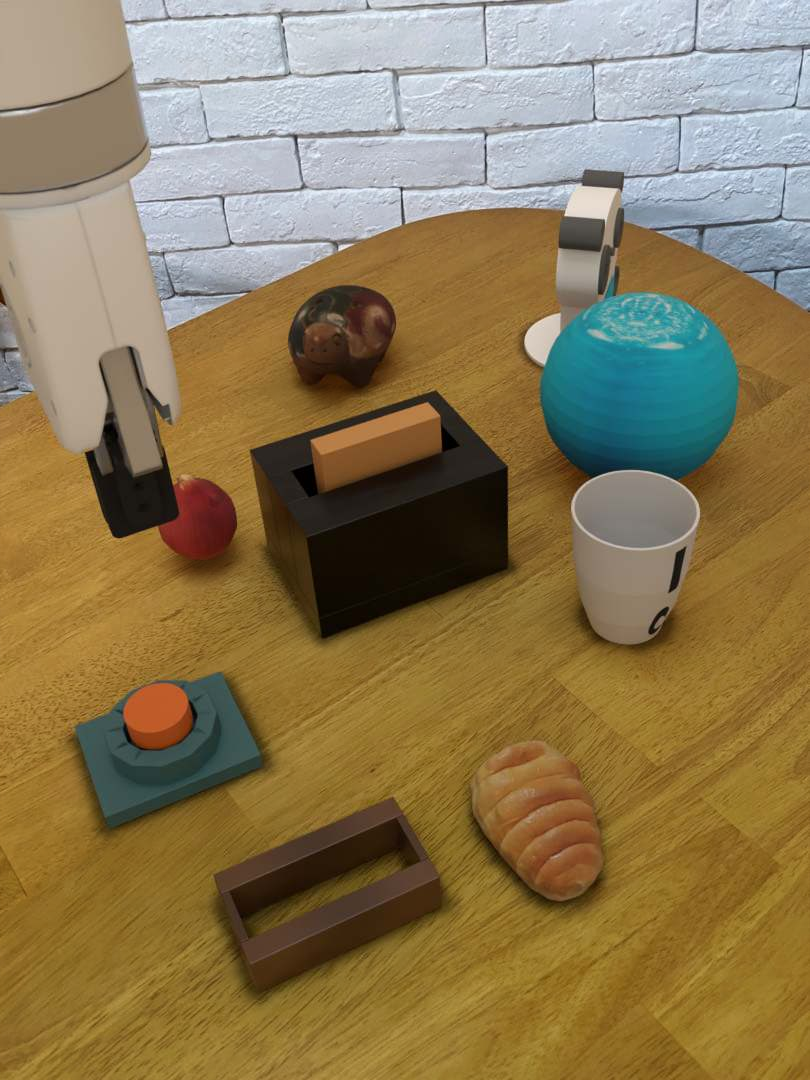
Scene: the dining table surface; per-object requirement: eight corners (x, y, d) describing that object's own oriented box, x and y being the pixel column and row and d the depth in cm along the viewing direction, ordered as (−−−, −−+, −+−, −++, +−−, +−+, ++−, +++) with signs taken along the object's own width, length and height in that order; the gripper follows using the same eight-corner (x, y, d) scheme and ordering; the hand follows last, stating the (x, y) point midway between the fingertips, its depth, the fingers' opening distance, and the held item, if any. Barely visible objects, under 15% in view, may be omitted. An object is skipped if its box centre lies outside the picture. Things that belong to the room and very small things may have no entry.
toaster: (322, 639, 79) (306, 537, 73) (267, 548, 87) (249, 449, 81) (508, 568, 84) (508, 466, 77) (441, 488, 91) (436, 389, 85)
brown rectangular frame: (257, 993, 60) (249, 965, 58) (221, 903, 64) (212, 874, 62) (442, 906, 63) (440, 876, 61) (396, 826, 67) (393, 795, 65)
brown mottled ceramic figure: (279, 415, 101) (263, 333, 96) (315, 336, 112) (302, 260, 108) (386, 413, 99) (375, 330, 94) (411, 334, 111) (402, 257, 106)
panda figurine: (634, 387, 101) (647, 230, 91) (510, 372, 104) (510, 218, 94) (654, 320, 109) (669, 169, 99) (539, 307, 112) (542, 161, 102)
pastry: (632, 883, 63) (636, 844, 61) (522, 924, 62) (522, 886, 59) (559, 759, 70) (560, 719, 68) (458, 794, 69) (456, 754, 66)
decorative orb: (511, 503, 89) (511, 338, 80) (572, 402, 99) (579, 244, 90) (700, 548, 84) (725, 377, 74) (744, 437, 94) (772, 273, 84)
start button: (139, 760, 69) (132, 741, 68) (122, 715, 72) (116, 697, 70) (201, 735, 70) (196, 717, 69) (182, 692, 73) (177, 674, 72)
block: (109, 829, 68) (97, 799, 66) (78, 737, 74) (67, 707, 72) (263, 766, 71) (257, 735, 69) (223, 682, 77) (216, 652, 75)
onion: (218, 522, 90) (200, 440, 85) (258, 557, 86) (242, 474, 81) (154, 555, 87) (131, 473, 82) (193, 593, 84) (172, 510, 78)
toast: (335, 565, 82) (321, 454, 76) (325, 549, 83) (309, 439, 77) (446, 525, 85) (440, 415, 78) (434, 510, 86) (427, 401, 80)
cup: (674, 671, 75) (689, 559, 69) (554, 647, 77) (558, 537, 71) (692, 590, 81) (708, 480, 74) (580, 570, 83) (586, 461, 76)
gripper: (-99, 87, 44) (27, 461, 56) (-30, 230, 34) (106, 650, 46) (88, 50, 47) (171, 417, 59) (205, 174, 36) (277, 588, 48)
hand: (142, 519), depth 52 cm, fingers closed
